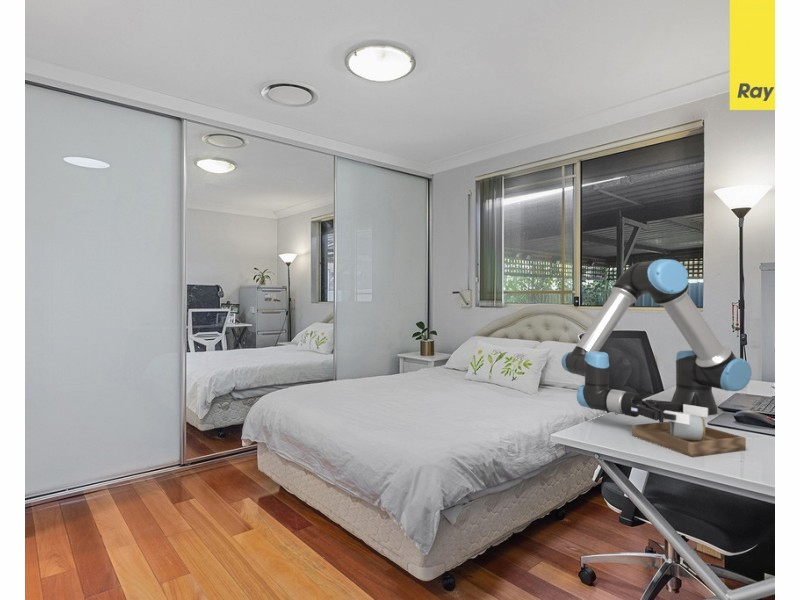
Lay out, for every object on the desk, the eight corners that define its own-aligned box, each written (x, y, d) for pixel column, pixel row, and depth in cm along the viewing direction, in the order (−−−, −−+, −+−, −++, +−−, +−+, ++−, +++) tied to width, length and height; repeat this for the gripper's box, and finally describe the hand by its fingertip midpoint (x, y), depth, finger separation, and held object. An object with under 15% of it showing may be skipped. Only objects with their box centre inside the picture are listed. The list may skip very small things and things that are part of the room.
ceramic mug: (706, 444, 132) (706, 417, 132) (673, 441, 134) (673, 414, 135) (697, 435, 141) (697, 410, 142) (667, 432, 144) (667, 407, 145)
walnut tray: (681, 431, 149) (681, 420, 149) (745, 450, 130) (745, 437, 130) (632, 436, 143) (632, 424, 143) (692, 457, 124) (692, 444, 124)
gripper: (642, 409, 158) (714, 422, 142) (605, 420, 143) (681, 436, 126) (642, 387, 158) (714, 397, 142) (605, 396, 143) (681, 409, 126)
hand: (699, 416), depth 134 cm, fingers open, 13 cm apart
